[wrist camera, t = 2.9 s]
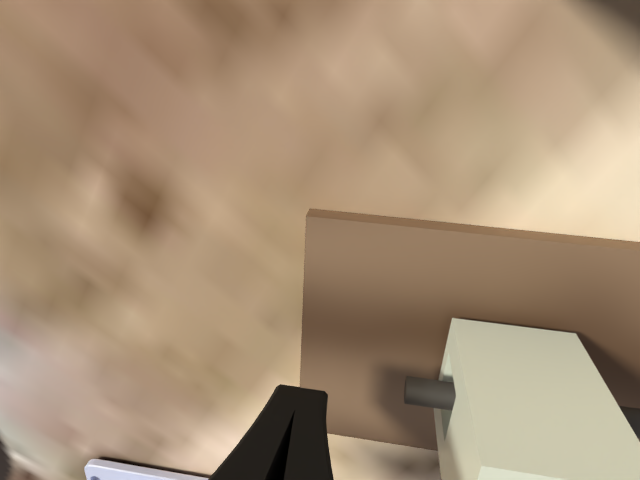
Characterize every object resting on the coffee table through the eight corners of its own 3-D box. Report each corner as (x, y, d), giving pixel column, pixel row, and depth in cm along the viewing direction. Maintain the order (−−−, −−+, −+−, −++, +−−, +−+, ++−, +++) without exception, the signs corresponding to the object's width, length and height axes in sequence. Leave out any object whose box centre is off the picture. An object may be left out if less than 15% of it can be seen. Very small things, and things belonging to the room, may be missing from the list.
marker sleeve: (543, 420, 15) (609, 595, 10) (433, 404, 15) (449, 566, 11) (576, 333, 13) (671, 495, 9) (452, 318, 14) (481, 465, 9)
